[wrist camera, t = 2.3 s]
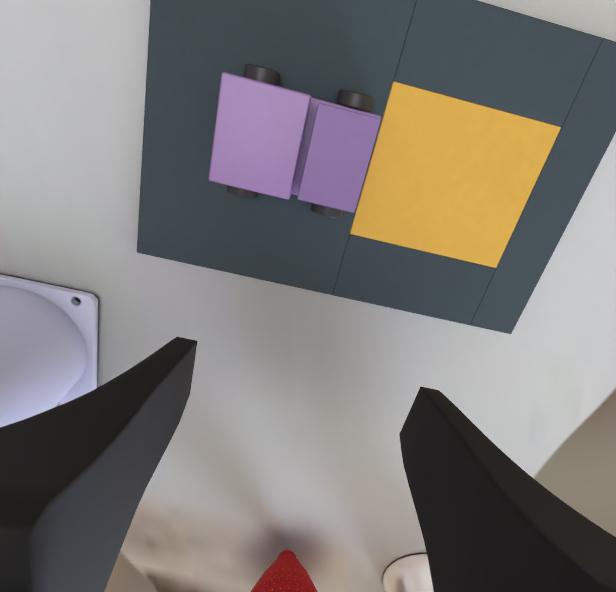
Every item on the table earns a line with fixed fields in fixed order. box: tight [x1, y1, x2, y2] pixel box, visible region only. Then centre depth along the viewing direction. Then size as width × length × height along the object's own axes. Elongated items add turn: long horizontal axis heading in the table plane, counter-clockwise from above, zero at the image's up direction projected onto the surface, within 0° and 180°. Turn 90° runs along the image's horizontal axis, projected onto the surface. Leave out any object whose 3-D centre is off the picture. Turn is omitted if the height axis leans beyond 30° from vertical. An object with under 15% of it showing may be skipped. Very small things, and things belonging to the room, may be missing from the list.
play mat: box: [137, 0, 616, 334], centre depth 18 cm, size 21×14×1 cm, turn 77°
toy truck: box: [209, 64, 381, 218], centre depth 16 cm, size 6×5×3 cm
